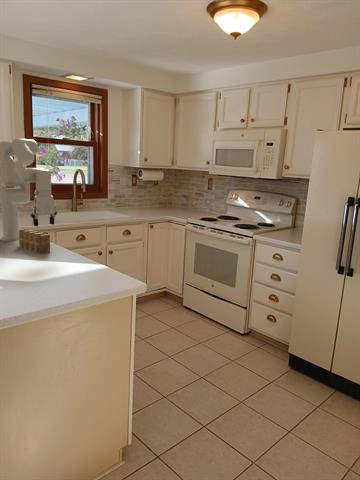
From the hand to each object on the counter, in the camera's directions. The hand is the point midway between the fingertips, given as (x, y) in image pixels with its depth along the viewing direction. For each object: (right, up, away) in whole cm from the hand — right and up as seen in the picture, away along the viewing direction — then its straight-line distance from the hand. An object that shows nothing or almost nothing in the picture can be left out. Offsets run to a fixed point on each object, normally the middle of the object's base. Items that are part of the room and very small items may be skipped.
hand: (44, 225), depth 197 cm
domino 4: (-5, -14, +6) cm, 16 cm away
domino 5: (0, -15, +3) cm, 15 cm away
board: (-9, -14, +9) cm, 18 cm away
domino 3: (-9, -13, +9) cm, 18 cm away
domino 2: (-13, -13, +11) cm, 21 cm away
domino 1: (-17, -12, +14) cm, 25 cm away
